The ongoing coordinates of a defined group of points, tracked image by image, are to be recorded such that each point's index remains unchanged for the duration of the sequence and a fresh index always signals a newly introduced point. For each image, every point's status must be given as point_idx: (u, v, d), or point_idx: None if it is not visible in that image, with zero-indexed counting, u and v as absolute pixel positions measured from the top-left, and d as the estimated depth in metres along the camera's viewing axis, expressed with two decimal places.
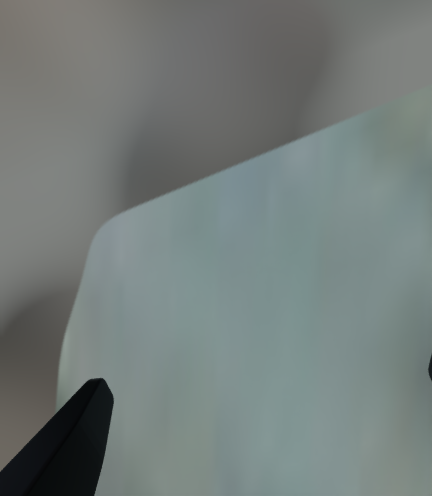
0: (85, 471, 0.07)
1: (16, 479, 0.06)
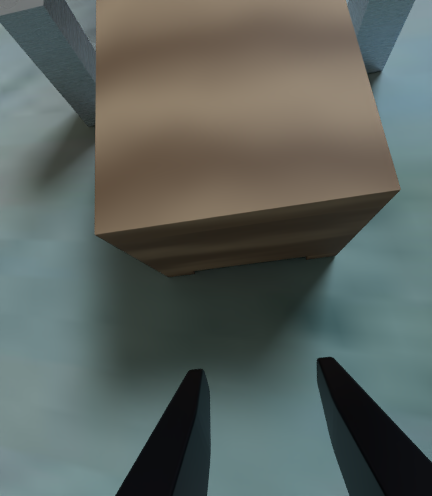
0: (202, 464, 0.07)
1: (156, 471, 0.06)
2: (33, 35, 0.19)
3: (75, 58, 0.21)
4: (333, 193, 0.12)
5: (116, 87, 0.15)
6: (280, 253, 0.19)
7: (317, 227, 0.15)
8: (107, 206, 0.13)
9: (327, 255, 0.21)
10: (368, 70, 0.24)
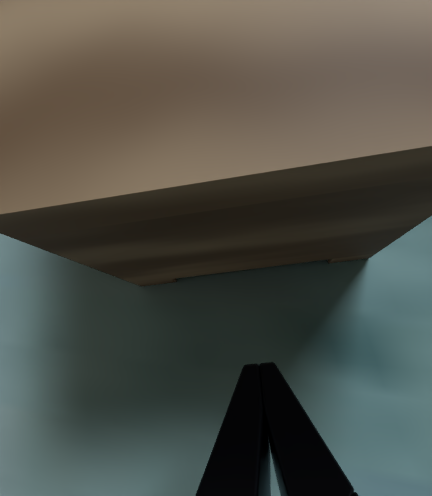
0: (267, 461, 0.07)
1: (235, 467, 0.06)
2: None
3: None
4: (420, 136, 0.06)
5: None
6: (295, 254, 0.13)
7: (364, 212, 0.09)
8: None
9: (358, 257, 0.15)
10: None
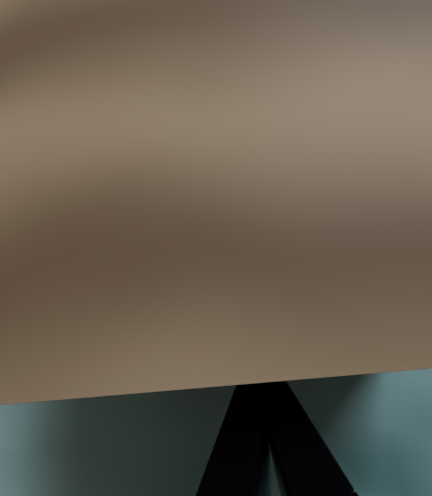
0: (267, 461, 0.07)
1: (235, 467, 0.06)
2: None
3: None
4: None
5: (20, 89, 0.08)
6: None
7: None
8: None
9: None
10: None
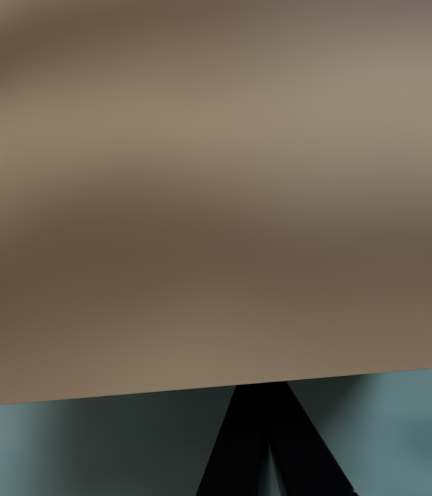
0: (267, 461, 0.07)
1: (235, 467, 0.06)
2: None
3: None
4: None
5: (22, 89, 0.08)
6: None
7: None
8: None
9: None
10: None
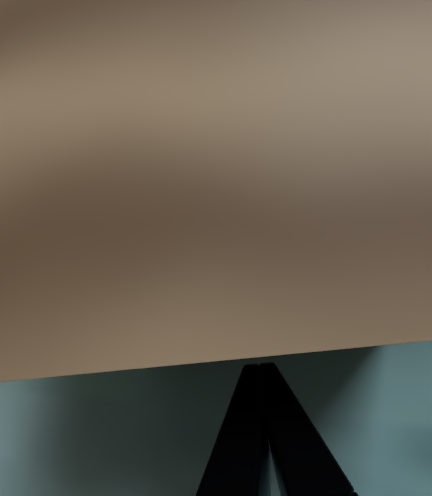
0: (267, 461, 0.07)
1: (235, 467, 0.06)
2: None
3: None
4: None
5: (11, 62, 0.07)
6: None
7: None
8: None
9: None
10: None
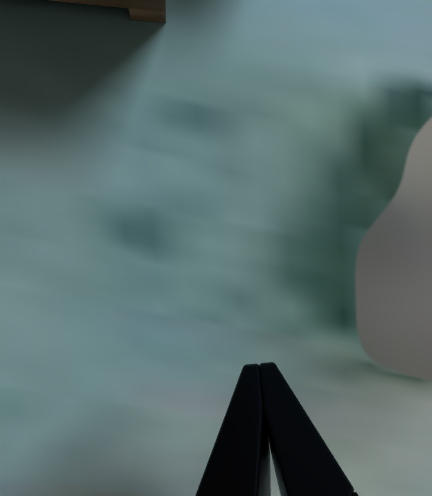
0: (267, 461, 0.07)
1: (236, 467, 0.06)
2: None
3: None
4: None
5: None
6: None
7: None
8: None
9: (154, 17, 0.18)
10: None
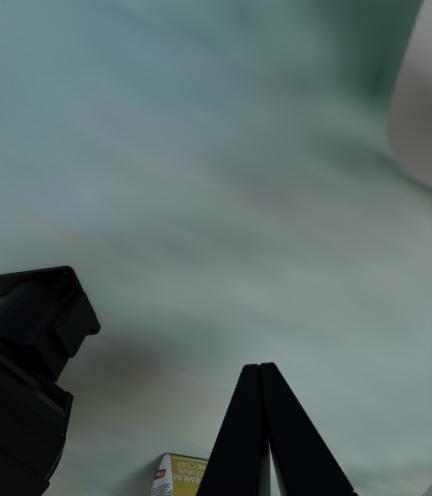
0: (267, 461, 0.07)
1: (235, 467, 0.06)
2: None
3: None
4: None
5: None
6: None
7: None
8: None
9: None
10: None
